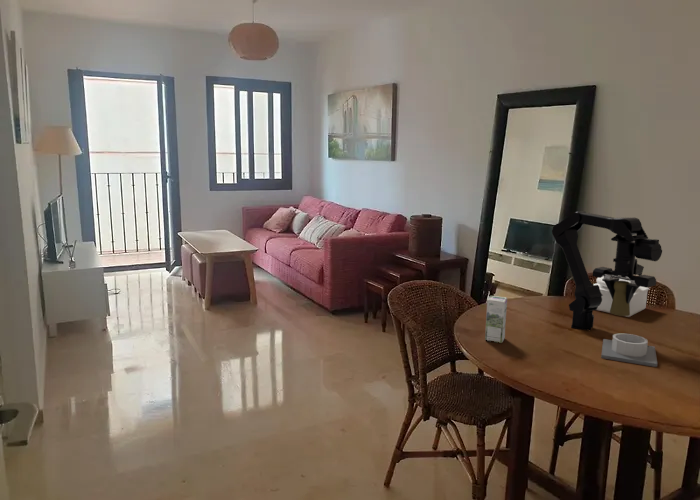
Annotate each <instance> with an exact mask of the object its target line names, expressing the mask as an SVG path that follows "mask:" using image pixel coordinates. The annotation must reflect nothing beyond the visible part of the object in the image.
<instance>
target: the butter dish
mask: <svg viewBox="0 0 700 500" xmlns="http://www.w3.org/2000/svg"><path fill="white" fill-rule="evenodd" d="M618 276H619V275H618ZM627 278H629V277H627ZM602 279H604V276H603V277H601V278H599V277H596V280H595V281H596V283H594V284H593V283H592V284H593V285H598V286H599V289H600V292H601V294H602V295H603V296H601V297H602V302H601V304H600V305H599V306H598V308H597V310H596V311H601V312H604V313H609V314H611V313H610V309H611V305H612V301H613V299H612V297H611V294H610V292H609V289H608V287H607V285H606V283H605V282H604V281H602ZM619 281H626V282H629V283H630V281H629V280H624V279H619ZM649 290H650V287H642V286H640V287H639V288H638V289H637V290H636V291H635V293H634V295H633V297H632V299H631V300H630V302H629V307H630V315H629V316H625V317H627V318H630V317H631V316H633V315H636V314H637V313H639V312H641V311H643V310H645V309H646V307H647V299H648V291H649Z"/></svg>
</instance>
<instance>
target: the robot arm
mask: <svg viewBox="0 0 700 500" xmlns="http://www.w3.org/2000/svg"><path fill="white" fill-rule="evenodd" d="M584 225H587V226H592V227H596V228H602V229H606V230H609V231H611V232H612V233H613V234H616V235H615V236H613V237H612V238H610V240H611V241H612V242H617V243H616V251H615V258H613V259H612V261H613V263H614V269H613V268H610V267H605V266H600V267H595V268H594V269H593V270H592V277H595V278H598V277H599V278H601V277H603V276H604V279H602V281H604V282H605V283H606V285H607V287H608V289H609V292H610V294H611V297H612V299H613V297H614V293H615V289H614V283H615V282H616V281H619V279H624V280H629V281H630V284H627V285H626V302H627V304H628V303H629V302H630V300H631V299H632V297H633V295H634V293H635V291H636V290H637V289H638V288H639V287H640V286H641V287H647V288H650V287H654V286H657V278H656V276H653V275H648V274H643V271H644V268H645V267H644V265H641V264H638V259H639V260H646V261H651V262H658V261H659V260H660V259H661V256H662V255H663V249H662V245H661V244H660V240H659V239H657V238H655V239H653V238H649V237H648V235H647V233H646V232H645V230H644V228H643V226H642V222H641V220H640V219H639V218H638V217H612V216H606V215H602V214H597V213H590V212H586V211H575V212H573V213H572V214H571V215H569V216H568V217H566V218H565V219H562V220H561V221H560V222H559V223H555V224H554V225H553V227H552V229H551V233H552V234H551V235H552V236H553V238H554V241H555V242H556V243H557V244H558V245H559V247H560V248H562V251H563V253H564V255H565V259H566V262H567V264H568V266H569V270H570V274H571V275H572V277H573V278H572V279H573V281H574V284H575V289H574V298H575V299H574V300H573V301H572V302H571V303H569V304H568V308H569V311H571V312H572V321H571V328H572V329H578V330H585V331H591V330H592V328H593V327H594V321H595V320H594V319H595V315H594V314H593V313H594V311H598V310H597V308H598V306H599V305H600V304H601V302H602V297H601V296H603V295H602V294H601V292H600V289H599V286H598V285H593V282H592V281H591V280H590V277H589V275H588V272H587V269H586V267H585V264H584V261H583V258H582V255H581V252H580V250H579V247H578V241H579V240H578V239H579V234H578V231H580V230H581V229H582V228H583V226H584ZM636 258H637V259H636ZM618 275H619V276H618ZM627 277H629V278H627Z"/></svg>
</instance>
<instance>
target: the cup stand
mask: <svg viewBox="0 0 700 500" xmlns="http://www.w3.org/2000/svg"><path fill="white" fill-rule="evenodd" d="M648 341H649V340H648V339H647V338H645V337H644V336H641V335H637V334H633V333H628V332H627V333H626V332H624V333H621V332H620V333H614V334H612V339H607V338H603V339H602V347H601V355H600V359H604V360H605V359H606V360H612V361H615V362H616V361H617V362H623V363H630V364H636V365H641V366H647V367H653V368H657V367H658V359H657V353H656V346H653V345H648Z"/></svg>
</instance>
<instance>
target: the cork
mask: <svg viewBox="0 0 700 500" xmlns="http://www.w3.org/2000/svg"><path fill="white" fill-rule="evenodd" d="M627 284H630V283H629V282H626V281H616V282H615V283H614V289H615V293H614V297H613V301H612V305H611V309H610V313H609V314H612V315H615V316H620V317H626V316H629V315H630V307H629V303H628V304H627V302H626V285H627Z"/></svg>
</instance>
